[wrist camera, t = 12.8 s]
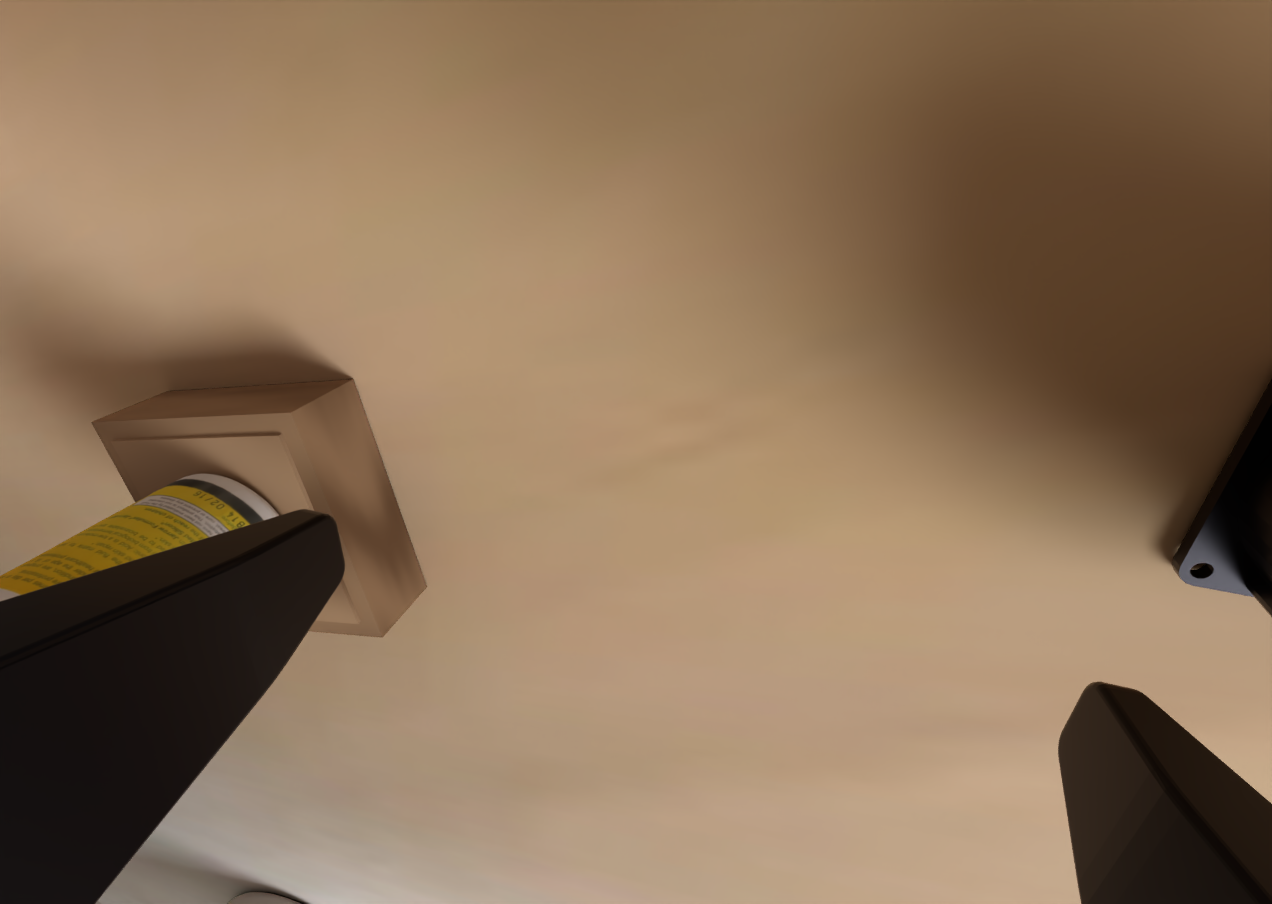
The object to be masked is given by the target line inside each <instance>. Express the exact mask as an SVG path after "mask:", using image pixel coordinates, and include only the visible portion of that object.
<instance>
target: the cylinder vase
mask: <svg viewBox="0 0 1272 904" xmlns="http://www.w3.org/2000/svg"><path fill="white" fill-rule="evenodd" d="M227 904H301V903H298V902H296V901H294V900H291V899H288V898H285V897H282V896H279V895H275V894H270V893H263V892H251V893H245V894H242V895H239V896H237V897H235V898H233V899H232V900H231V901H229V902H228V903H227Z"/></svg>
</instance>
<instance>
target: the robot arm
mask: <svg viewBox="0 0 1272 904" xmlns="http://www.w3.org/2000/svg"><path fill="white" fill-rule="evenodd" d="M1199 563H1206V564H1205V565H1204V566H1203V567H1202V568H1199V569H1197V570H1190V569H1191V568H1192V567H1193V566H1194V565H1196V564H1199ZM1172 565H1173V568H1174V570H1175V572H1176V573H1177V574H1178V576H1179V577H1180V578H1181V579H1182V580H1183V581H1184V582H1185V583H1187V584H1190V585H1193V586H1198V587H1203V588H1209V589H1214V590H1219V591H1225V592H1230V593H1236V594H1241V595H1246V596H1252V597H1255V598H1256V599H1257V601H1258V602H1259V603H1260V604H1261V605H1262V606H1263V607H1264V609H1265V610H1266V611H1267V612H1268V613H1269V614H1270V616H1271V617H1272V380H1271V382H1270V383H1269V385H1268V387H1267V389H1266V391H1265V392H1264V394H1263V396H1262V398H1261V400H1260V402H1259V403H1258V405H1257V407H1256V409H1255V411H1254V413H1253V414H1252V416H1251V418H1250V420H1249V422H1248V423H1247V425H1246V427H1245V429H1244V431H1243V433H1242V434H1241V436H1240V438H1239V440H1238V442H1237V443H1236V445H1235V447H1234V449H1233V451H1232V453H1231V454H1230V456H1229V458H1228V460H1227V462H1226V464H1225V465H1224V467H1223V469H1222V471H1221V473H1220V474H1219V476H1218V478H1217V480H1216V482H1215V484H1214V485H1213V487H1212V489H1211V491H1210V493H1209V494H1208V496H1207V498H1206V500H1205V502H1204V504H1203V505H1202V507H1201V509H1200V511H1199V513H1198V515H1197V516H1196V518H1195V520H1194V522H1193V524H1192V525H1191V527H1190V529H1189V531H1188V533H1187V535H1186V536H1185V538H1184V540H1183V542H1182V544H1181V545H1180V547H1179V549H1178V551H1177V553H1176V555H1175V556H1174V558H1173V562H1172ZM344 571H345V560H344V555H343V550H342V545H341V541H340V536H339V531H338V526H337V523H336V521H335V519H334V518H333V517H332V516H331V515H329V514H327V513H322V512H318V511H313V510H308V509H300V510H296V511H293V512H289V513H286V514H283V515H280V516H276V517H273V518H270V519H267V520H263V521H260V522H257V523H253V524H250V525H247V526H244V527H240V528H237V529H234V530H231V531H227V532H224V533H221V534H218V535H214V536H211V537H208V538H205V539H201V540H198V541H195V542H192V543H188V544H185V545H182V546H179V547H175V548H172V549H169V550H166V551H162V552H159V553H156V554H153V555H149V556H146V557H143V558H139V559H136V560H133V561H130V562H126V563H123V564H120V565H117V566H113V567H110V568H107V569H104V570H100V571H97V572H94V573H91V574H87V575H84V576H81V577H78V578H74V579H71V580H68V581H65V582H61V583H58V584H55V585H52V586H48V587H45V588H42V589H39V590H35V591H32V592H29V593H26V594H22V595H19V596H16V597H12V598H9V599H6V600H3V601H0V904H95V903H96V902H97V901H98V899H99V898H100V897H101V896H102V894H103V893H104V892H105V891H106V890H107V888H108V887H109V886H110V885H111V883H112V882H113V881H114V880H115V878H116V877H117V876H118V875H119V873H120V872H121V871H122V870H123V868H124V867H125V866H126V865H127V863H128V862H129V861H130V860H131V859H132V857H133V856H134V855H135V854H136V852H137V851H138V850H139V849H140V847H141V846H142V845H143V844H144V842H145V841H146V840H147V839H148V837H149V836H150V835H151V834H152V832H153V831H154V830H155V829H156V828H157V826H158V825H159V824H160V823H161V821H162V820H163V819H164V818H165V816H166V815H167V814H168V813H169V811H170V810H171V809H172V808H173V806H174V805H175V804H176V803H177V801H178V800H179V799H180V798H181V797H182V795H183V794H184V793H185V792H186V790H187V789H188V788H189V787H190V785H191V784H192V783H193V782H194V780H195V779H196V778H197V777H198V775H199V774H200V773H201V772H202V771H203V769H204V768H205V767H206V766H207V764H208V763H209V762H210V761H211V759H212V758H213V757H214V756H215V754H216V753H217V752H218V751H219V749H220V748H221V747H222V746H223V744H224V743H225V742H226V741H227V740H228V738H229V737H230V736H231V735H232V733H233V732H234V731H235V730H236V728H237V727H238V726H239V725H240V723H241V722H242V721H243V720H244V718H245V717H246V716H247V715H248V713H249V712H250V711H251V710H252V709H253V707H254V706H255V705H256V704H257V702H258V701H259V700H260V699H261V697H262V696H263V695H264V694H265V692H266V691H267V690H268V688H269V687H270V686H271V684H272V683H273V682H274V681H275V679H276V678H277V676H278V675H279V674H280V672H281V671H282V669H283V668H284V666H285V665H286V664H287V662H288V661H289V659H290V658H291V656H292V655H293V653H294V652H295V650H296V649H297V647H298V646H299V644H300V643H301V641H302V640H303V638H304V637H305V635H306V634H307V632H308V631H309V629H310V628H311V626H312V625H313V623H314V622H315V620H316V619H317V617H318V616H319V614H320V613H321V611H322V610H323V608H324V607H325V605H326V604H327V602H328V601H329V599H330V598H331V596H332V595H333V593H334V592H335V590H336V589H337V587H338V586H339V584H340V582H341V580H342V578H343V575H344ZM1058 755H1059V763H1060V770H1061V776H1062V783H1063V790H1064V796H1065V803H1066V809H1067V816H1068V823H1069V829H1070V836H1071V843H1072V849H1073V856H1074V862H1075V869H1076V876H1077V882H1078V888H1079V893H1080V899H1081V904H1272V804H1271V803H1270V802H1269V801H1268V800H1267V799H1265V798H1264V797H1263V796H1262V795H1261V794H1260V793H1258V792H1257V791H1256V790H1255V789H1254V788H1253V787H1251V786H1250V785H1249V784H1248V783H1247V782H1246V781H1244V780H1243V779H1242V778H1241V777H1240V776H1239V775H1238V774H1236V773H1235V772H1234V771H1233V770H1232V769H1231V768H1229V767H1228V766H1227V765H1226V764H1225V763H1224V762H1222V761H1221V760H1220V759H1219V758H1218V757H1217V756H1215V755H1214V754H1213V753H1212V752H1211V751H1210V750H1208V749H1207V748H1206V747H1205V746H1204V745H1203V744H1202V743H1200V742H1199V741H1198V740H1197V739H1196V738H1195V737H1193V736H1192V735H1191V734H1190V733H1189V732H1188V731H1186V730H1185V729H1184V728H1183V727H1182V726H1181V725H1179V724H1178V723H1177V722H1176V721H1175V720H1174V719H1173V718H1171V717H1170V716H1169V715H1168V714H1167V713H1166V712H1164V711H1163V710H1162V709H1161V708H1160V707H1159V706H1157V705H1156V704H1155V703H1154V702H1153V701H1152V700H1150V699H1149V698H1148V697H1147V696H1146V695H1144V694H1143V693H1141V692H1139V691H1137V690H1135V689H1131V688H1127V687H1122V686H1118V685H1113V684H1108V683H1104V682H1093V683H1091V684H1089V685H1088V686H1087V687H1086V688H1085V690H1084V691H1083V693H1082V695H1081V696H1080V698H1079V700H1078V702H1077V704H1076V706H1075V708H1074V710H1073V712H1072V713H1071V715H1070V717H1069V719H1068V721H1067V723H1066V725H1065V727H1064V729H1063V730H1062V733H1061V736H1060V739H1059V746H1058Z"/></svg>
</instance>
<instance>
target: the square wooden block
mask: <svg viewBox="0 0 1272 904" xmlns="http://www.w3.org/2000/svg"><path fill="white" fill-rule="evenodd" d="M91 423H92V424H93V426H94V428H95V430H96V432H97V433H98V435H99V437H100V439H101V441H102V443H103V444H104V446H105V448H106V450H107V452H108V453H109V455H110V457H111V459H112V461H113V463H114V464H115V466H116V468H117V470H118V472H119V473H120V475H121V477H122V479H123V481H124V483H125V484H126V486H127V488H128V490H129V492H130V493H131V495H132V497H133V499H134V501H135V502H137V501H139V500H141V499H143V498H145V497H147V496H148V495H150V494H152V493H153V492H155V491H157V490H159V489H162V488H163V487H165V486H167V485H168V484H170V483H173V482H175V481H177V480H179V479H181V478H183V477H186V476H190V475H194V474H214V475H219V476H223V477H227V478H229V479H232V480H234V481H237V482H239V483H241V484H242V485H244V486H246V487H248V488H249V489H251V490H252V491H254V492H255V493H257V494H258V495H259V496H261V497H262V498H263V499H264V500H265V501H266V502H268V503H269V504H270V505H271V506H272V507H273V509H274V510H275V511H276V512H277V513H278V514H279V516H280V515H283V514H286V513H289V512H293V511H296V510H300V509H308V510H313V511H318V512H322V513H327V514H329V515H331V516H332V517H333V518H334V519H335V521H336V523H337V526H338V531H339V536H340V541H341V545H342V550H343V555H344V560H345V571H344V575H343V578H342V580H341V582H340V584H339V586H338V587H337V589H336V590H335V592H334V593H333V595H332V596H331V598H330V599H329V601H328V602H327V604H326V605H325V607H324V608H323V610H322V611H321V613H320V614H319V616H318V617H317V619H316V620H315V622H314V623H313V625H312V626H311V628H310V629H309V631H312V632H323V633H335V634H347V635H359V636H371V637H383V636H384V635H385V634H386V633H387V632H388V631H389V630H390V628H391V627H392V626H393V625H394V624H395V623H396V622H397V620H398V619H399V618H400V617H401V616H402V615H403V614H404V613H405V611H406V610H407V609H408V608H409V607H410V606H411V605H412V603H413V602H414V601H415V600H416V599H417V598H418V597H419V595H420V594H421V593H422V592H423V591H424V590H425V589H426V587H427V586H426V583H425V580H424V577H423V574H422V572H421V569H420V566H419V563H418V560H417V557H416V555H415V552H414V549H413V546H412V543H411V541H410V538H409V535H408V532H407V529H406V526H405V524H404V521H403V518H402V515H401V512H400V510H399V507H398V504H397V501H396V498H395V496H394V493H393V490H392V487H391V484H390V481H389V479H388V476H387V473H386V470H385V467H384V465H383V462H382V459H381V456H380V453H379V451H378V448H377V445H376V442H375V439H374V436H373V434H372V431H371V428H370V425H369V422H368V420H367V417H366V414H365V411H364V408H363V405H362V403H361V400H360V397H359V394H358V391H357V389H356V386H355V383H354V380H353V379H350V380H334V381H319V382H304V383H289V384H274V385H258V386H243V387H228V388H213V389H198V390H183V391H167V392H165V393H162V394H160V395H157V396H155V397H152V398H150V399H147V400H145V401H142V402H140V403H137V404H135V405H132V406H130V407H128V408H125V409H123V410H120V411H118V412H115V413H113V414H110V415H108V416H105V417H103V418H100V419H98V420H96V421H93V422H91Z"/></svg>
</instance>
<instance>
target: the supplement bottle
mask: <svg viewBox="0 0 1272 904" xmlns="http://www.w3.org/2000/svg"><path fill="white" fill-rule="evenodd" d="M276 516H279V514H278V513H277V512H276V511H275V510H274V509H273V507H272V506H271V505H270V504H269V503H268V502H266V501H265V500H264V499H263V498H262V497H261V496H259V495H258V494H257V493H255V492H254V491H252V490H251V489H249V488H248V487H246V486H244V485H242V484H241V483H239V482H237V481H234V480H232V479H229V478H227V477H223V476H219V475H214V474H194V475H190V476H186V477H183V478H181V479H179V480H177V481H175V482H173V483H170V484H168V485H167V486H165V487H163V488H162V489H159V490H157V491H155V492H153V493H152V494H150V495H148V496H147V497H145V498H143V499H141V500H139V501H137V502H136V503H134V504H132V505H130V506H128V507H126V508H125V509H123V510H121V511H119V512H117V513H115V514H113V515H111V516H110V517H108V518H106V519H104V520H102V521H100V522H98V523H97V524H95V525H93V526H91V527H89V528H88V529H86V530H84V531H82V532H80V533H79V534H77V535H75V536H73V537H71V538H70V539H68V540H66V541H64V542H62V543H61V544H59V545H57V546H55V547H53V548H52V549H50V550H48V551H46V552H44V553H42V554H41V555H39V556H37V557H35V558H33V559H31V560H30V561H28V562H26V563H24V564H22V565H20V566H18V567H16V568H14V569H13V570H11V571H9V572H7V573H5V574H3V575H1V576H0V601H3V600H6V599H9V598H12V597H16V596H19V595H22V594H26V593H29V592H32V591H35V590H39V589H42V588H45V587H48V586H52V585H55V584H58V583H61V582H65V581H68V580H71V579H74V578H78V577H81V576H84V575H87V574H91V573H94V572H97V571H100V570H104V569H107V568H110V567H113V566H117V565H120V564H123V563H126V562H130V561H133V560H136V559H139V558H143V557H146V556H149V555H153V554H156V553H159V552H162V551H166V550H169V549H172V548H175V547H179V546H182V545H185V544H188V543H192V542H195V541H198V540H201V539H205V538H208V537H211V536H214V535H218V534H221V533H224V532H227V531H231V530H234V529H237V528H240V527H244V526H247V525H250V524H253V523H257V522H260V521H263V520H267V519H270V518H273V517H276Z"/></svg>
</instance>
